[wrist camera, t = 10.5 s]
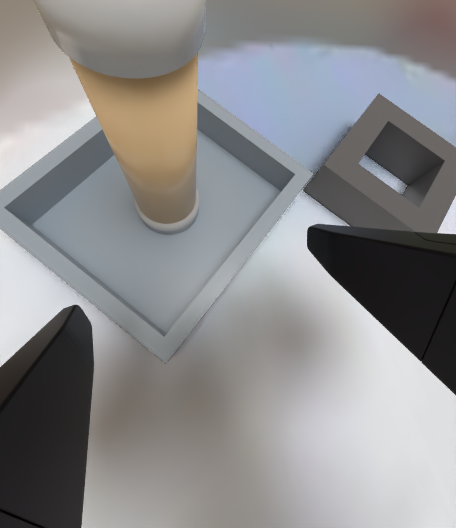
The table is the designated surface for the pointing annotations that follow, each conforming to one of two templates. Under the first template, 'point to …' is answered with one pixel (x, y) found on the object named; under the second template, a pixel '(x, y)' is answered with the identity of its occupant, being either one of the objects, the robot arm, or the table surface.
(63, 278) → the parts tray
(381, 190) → the frame
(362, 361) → the table surface
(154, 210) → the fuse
